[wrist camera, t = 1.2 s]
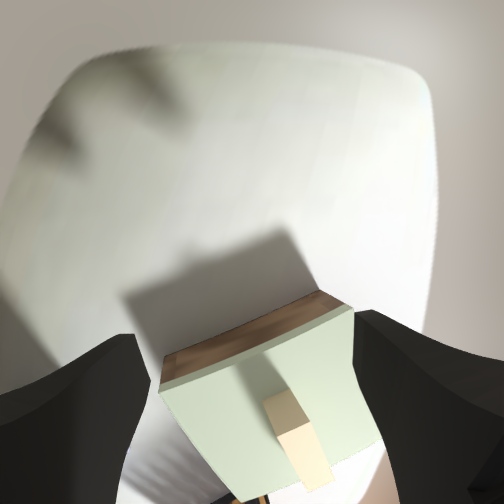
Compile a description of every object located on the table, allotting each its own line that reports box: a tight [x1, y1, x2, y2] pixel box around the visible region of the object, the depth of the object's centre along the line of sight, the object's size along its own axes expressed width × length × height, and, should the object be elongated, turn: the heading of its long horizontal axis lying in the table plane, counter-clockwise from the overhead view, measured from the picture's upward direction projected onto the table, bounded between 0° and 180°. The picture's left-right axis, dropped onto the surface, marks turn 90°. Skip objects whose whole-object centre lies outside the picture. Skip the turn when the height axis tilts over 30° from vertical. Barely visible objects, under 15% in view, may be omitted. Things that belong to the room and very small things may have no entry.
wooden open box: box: [160, 290, 345, 384], centre depth 20 cm, size 12×12×4 cm
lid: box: [158, 304, 382, 503], centre depth 16 cm, size 12×12×5 cm
